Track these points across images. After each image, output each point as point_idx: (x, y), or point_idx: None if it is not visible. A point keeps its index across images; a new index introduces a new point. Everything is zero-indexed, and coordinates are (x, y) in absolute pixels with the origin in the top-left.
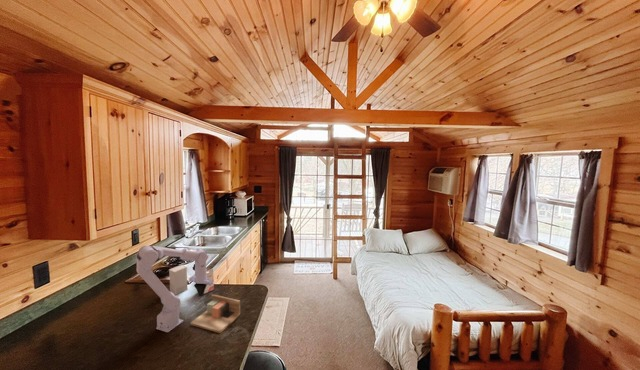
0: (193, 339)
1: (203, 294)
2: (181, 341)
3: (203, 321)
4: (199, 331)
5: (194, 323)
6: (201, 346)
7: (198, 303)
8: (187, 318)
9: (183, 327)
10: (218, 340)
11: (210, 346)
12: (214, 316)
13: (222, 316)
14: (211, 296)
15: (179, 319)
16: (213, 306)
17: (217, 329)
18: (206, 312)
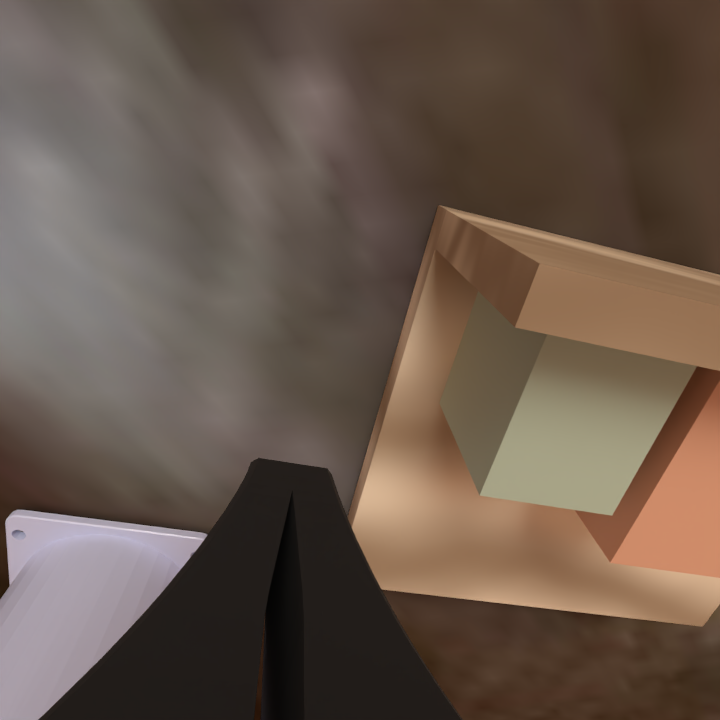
0: (477, 683)
1: (331, 481)
2: None
3: (474, 547)
4: (481, 614)
5: (389, 588)
6: (574, 716)
7: (75, 95)
8: (214, 482)
9: None
10: (689, 661)
11: (642, 707)
12: None
13: None
14: (502, 311)
15: (143, 537)
16: (629, 533)
17: (673, 616)
18: (423, 396)
